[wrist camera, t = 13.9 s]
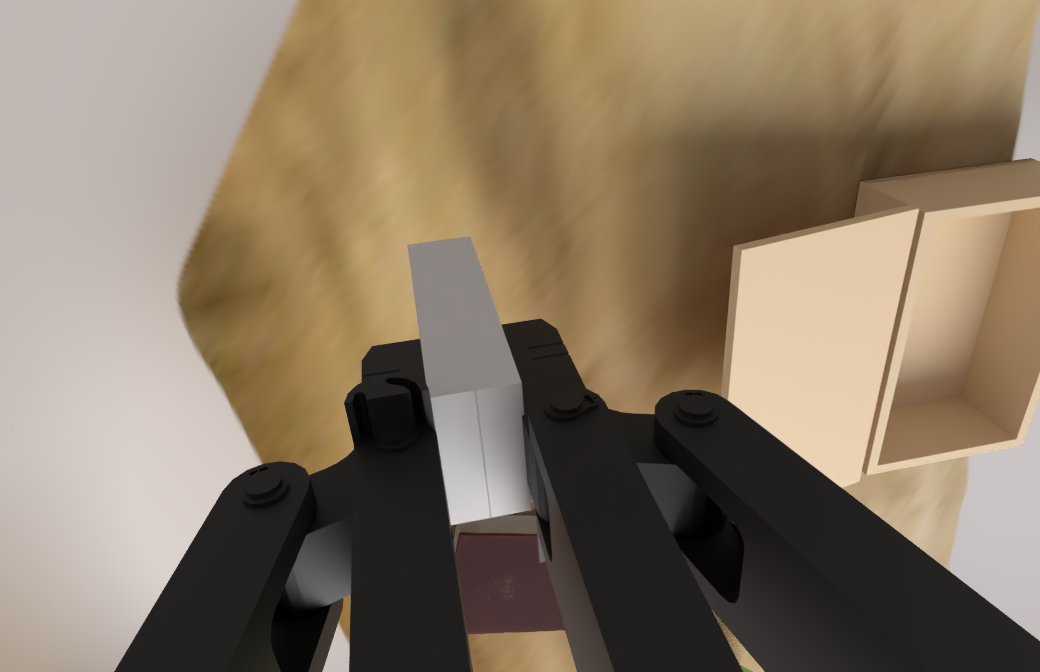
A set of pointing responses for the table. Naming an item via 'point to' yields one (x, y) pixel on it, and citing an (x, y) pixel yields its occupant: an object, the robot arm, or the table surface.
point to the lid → (817, 333)
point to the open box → (960, 315)
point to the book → (504, 577)
